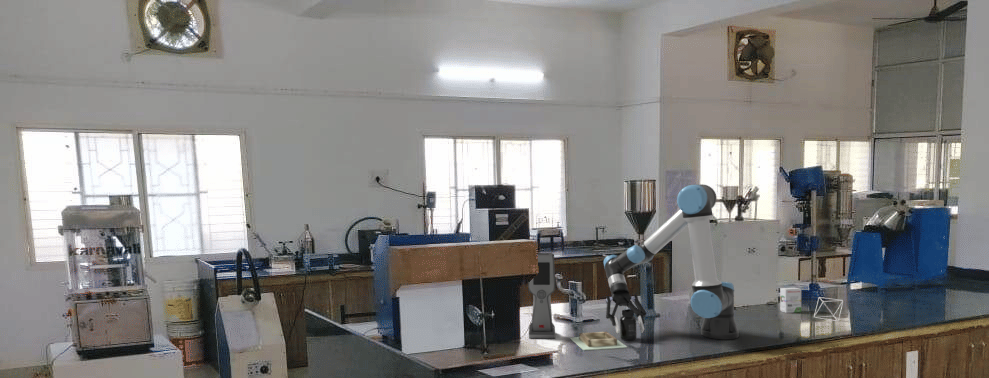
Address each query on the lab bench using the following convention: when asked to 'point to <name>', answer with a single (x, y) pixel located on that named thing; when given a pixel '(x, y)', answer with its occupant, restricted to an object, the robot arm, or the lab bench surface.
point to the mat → (585, 347)
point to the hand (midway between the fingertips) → (630, 331)
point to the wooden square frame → (597, 339)
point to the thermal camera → (542, 298)
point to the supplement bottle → (628, 326)
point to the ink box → (790, 300)
